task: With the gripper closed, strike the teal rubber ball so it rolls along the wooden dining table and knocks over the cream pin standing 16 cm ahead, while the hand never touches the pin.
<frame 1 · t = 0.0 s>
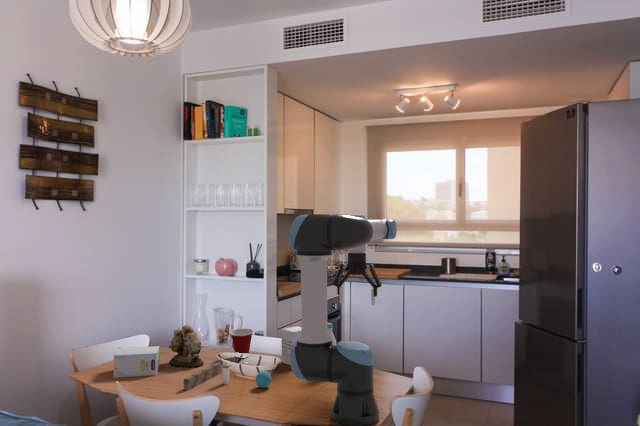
hand: (357, 303, 224), 28 cm above the table, tool pointing down, fingers open, 13 cm apart
stopper wall: (203, 380, 213), on the table
ball: (263, 379, 204), on the table
plastic cup: (241, 357, 249), on the table
supplement box 2: (295, 363, 238), on the table
pin: (226, 383, 209), on the table
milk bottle: (327, 372, 224), on the table
brown lumpy figure: (185, 364, 238), on the table
supplement box: (137, 372, 226), on the table
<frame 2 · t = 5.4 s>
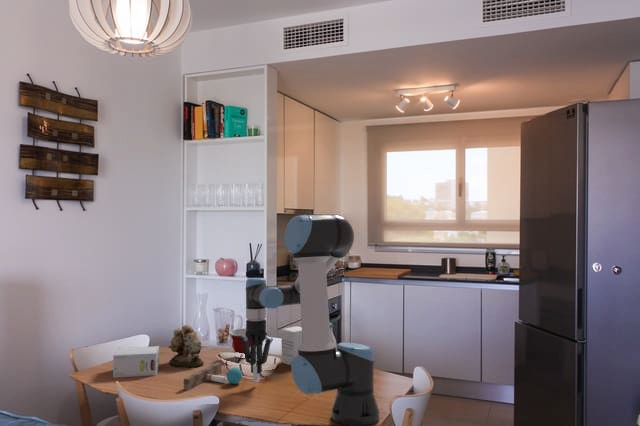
hand: (256, 381, 205), 2 cm above the table, tool pointing down, fingers closed
ball: (234, 375, 209), on the table
pin: (225, 380, 210), point 1 cm above the table, tilted 90°
everything else where it was.
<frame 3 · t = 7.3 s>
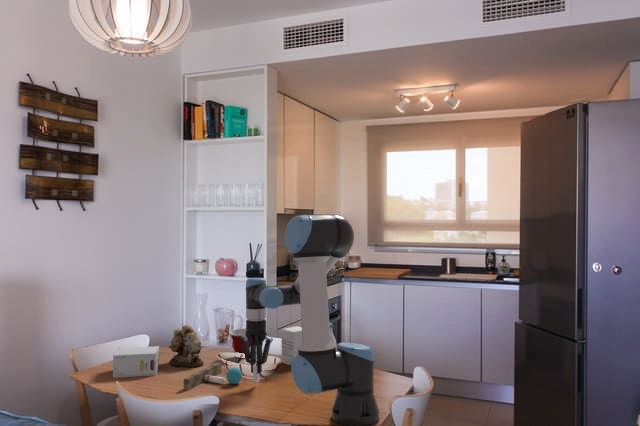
hand: (256, 381, 205), 2 cm above the table, tool pointing down, fingers closed
pin: (223, 380, 209), point 1 cm above the table, tilted 90°, touching stopper wall
everything else where it was.
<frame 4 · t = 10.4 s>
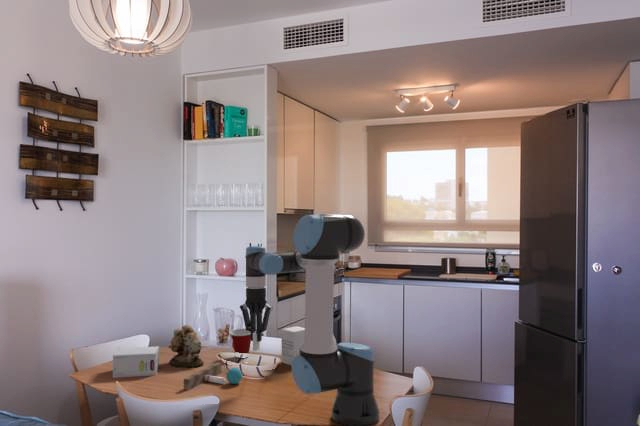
hand: (256, 349, 205), 14 cm above the table, tool pointing down, fingers closed
nothing on the table moved.
at the end: pin tilted 90°; pin never touched the robot; ball moved 12.8 cm from its start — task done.
